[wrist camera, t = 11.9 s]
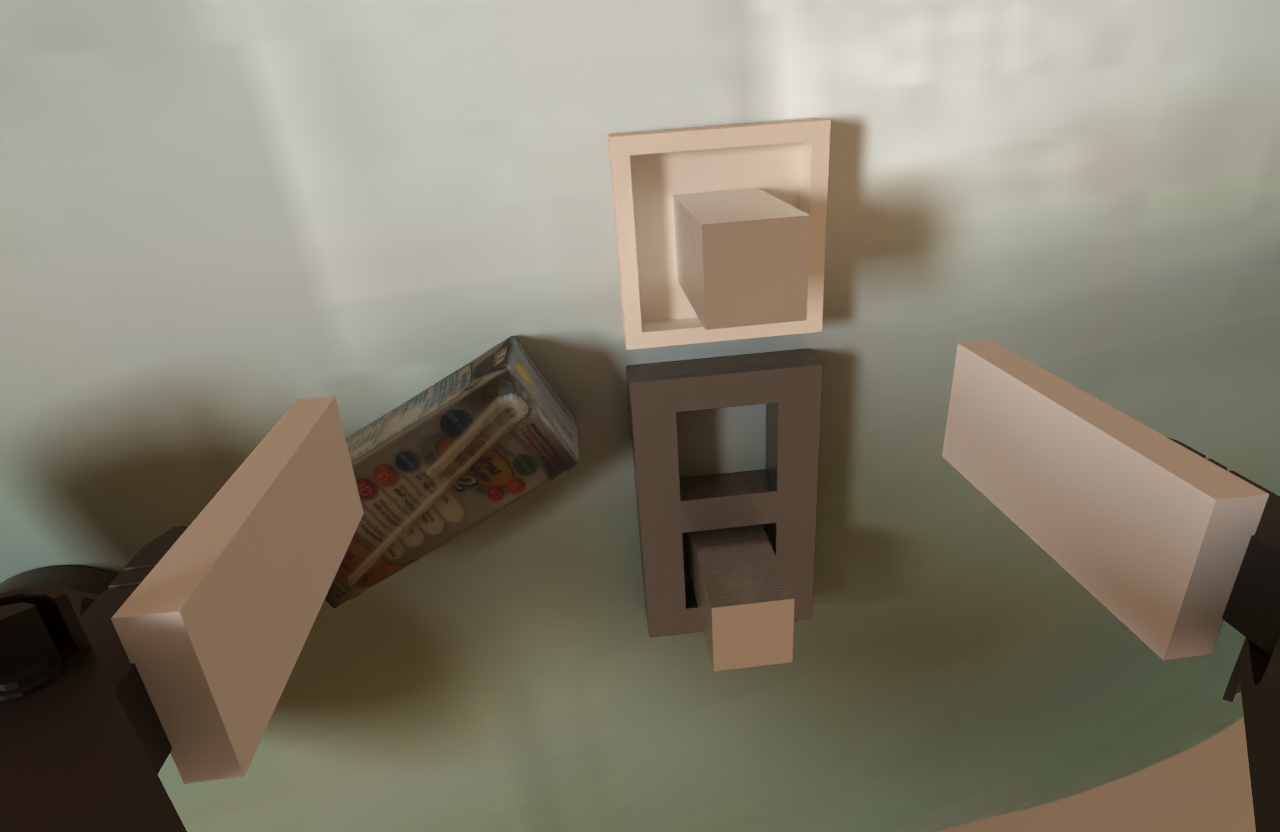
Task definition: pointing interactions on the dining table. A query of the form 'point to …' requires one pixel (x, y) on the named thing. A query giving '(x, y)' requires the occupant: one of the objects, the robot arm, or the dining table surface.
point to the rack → (725, 498)
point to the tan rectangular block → (742, 257)
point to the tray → (697, 163)
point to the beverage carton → (452, 462)
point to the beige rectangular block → (741, 597)
